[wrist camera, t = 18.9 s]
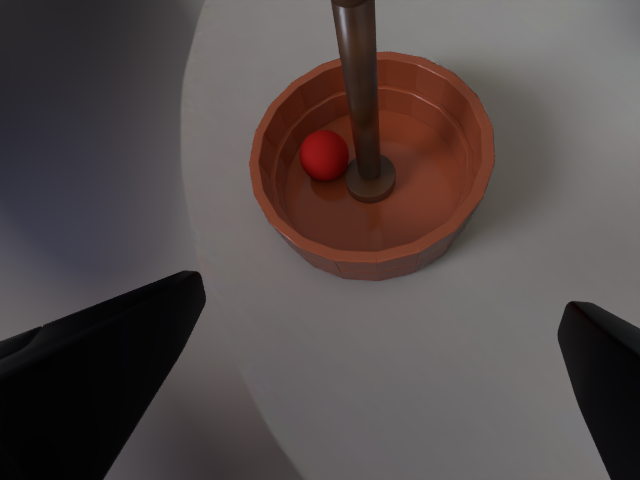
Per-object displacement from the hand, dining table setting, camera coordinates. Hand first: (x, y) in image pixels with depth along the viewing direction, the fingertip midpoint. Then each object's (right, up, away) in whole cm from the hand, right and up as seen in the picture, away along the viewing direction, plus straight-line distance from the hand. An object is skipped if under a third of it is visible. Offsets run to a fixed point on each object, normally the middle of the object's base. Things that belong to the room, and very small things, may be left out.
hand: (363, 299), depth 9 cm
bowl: (+2, +5, +15) cm, 16 cm away
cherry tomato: (-1, +7, +14) cm, 15 cm away
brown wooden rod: (+2, +5, +14) cm, 15 cm away
